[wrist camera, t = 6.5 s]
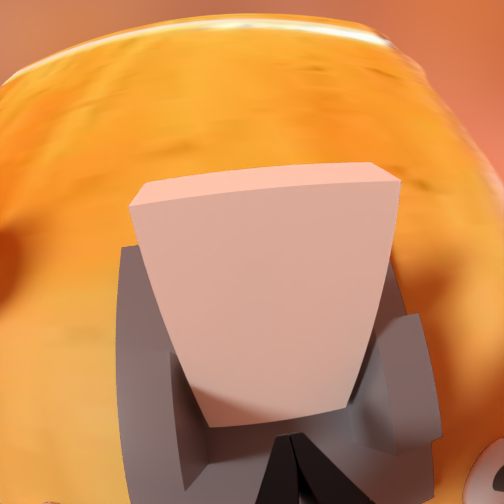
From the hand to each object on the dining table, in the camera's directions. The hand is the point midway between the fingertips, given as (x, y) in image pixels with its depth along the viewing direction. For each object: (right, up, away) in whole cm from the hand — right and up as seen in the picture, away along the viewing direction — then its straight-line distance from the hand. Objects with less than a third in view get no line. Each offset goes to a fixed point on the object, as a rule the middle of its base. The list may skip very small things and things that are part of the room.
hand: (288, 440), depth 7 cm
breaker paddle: (0, -2, +4) cm, 5 cm away
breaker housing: (0, -1, +6) cm, 6 cm away
